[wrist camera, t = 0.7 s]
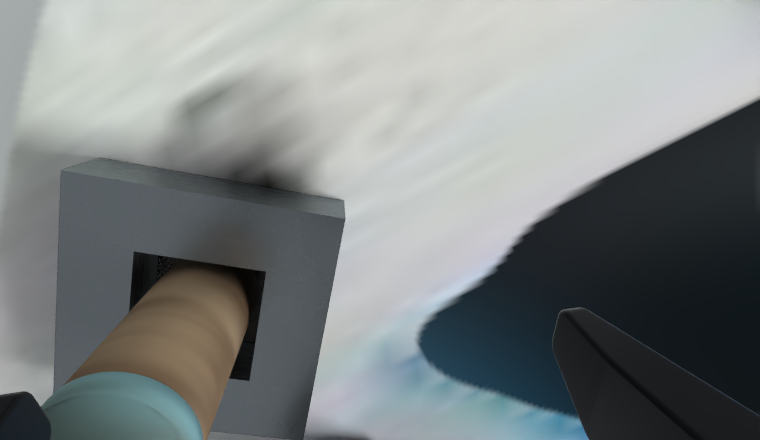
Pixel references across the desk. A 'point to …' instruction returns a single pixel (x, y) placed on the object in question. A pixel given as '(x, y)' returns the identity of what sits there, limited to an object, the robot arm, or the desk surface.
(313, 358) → the housing
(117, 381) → the end plug
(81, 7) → the desk surface
